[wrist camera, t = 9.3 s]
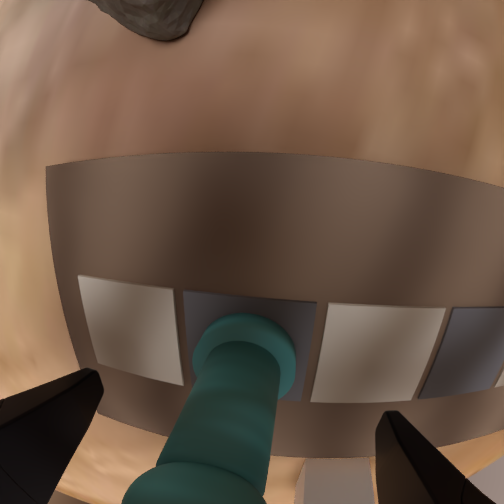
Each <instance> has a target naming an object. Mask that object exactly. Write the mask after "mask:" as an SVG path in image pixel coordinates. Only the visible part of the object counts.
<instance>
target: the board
mask: <svg viewBox="0 0 504 504" xmlns="http://www.w3.org/2000/svg"><path fill="white" fill-rule="evenodd" d="M46 196H47V211H48V223H49V233H50V241H51V249H52V255H53V262H54V268H55V274H56V279H57V284H58V289H59V294H60V299H61V303H62V307H63V311H64V316H65V319H66V323H67V327H68V331H69V334H70V338H71V341H72V344H73V348H74V351H75V354H76V357H77V360H78V363H79V366H80V369H84V368H87V367H88V368H92V369H94V370H97V371H98V372H99V375H100V378H101V381H102V384H103V387H104V394H103V396H102V399H101V401H100V403H99V405H98V408H97V412H98V414H101V415H103V416H106V417H109V418H111V419H114V420H117V421H119V422H122V423H125V424H128V425H131V426H134V427H137V428H140V429H143V430H146V431H150V432H153V433H156V434H160V435H163V436H167V437H169V436H170V434H171V431H172V429H173V427H174V425H175V423H176V421H177V419H178V417H179V415H180V413H181V411H182V409H183V407H184V405H185V402H186V400H187V398H188V396H189V394H190V392H191V390H192V388H193V386H194V384H195V382H196V380H197V377H196V375H195V372H194V369H193V364H192V358H193V353H194V350H195V348H196V346H197V344H198V342H199V341H200V339H201V337H202V335H203V333H204V332H205V330H206V329H207V327H208V326H209V325H210V324H211V323H212V322H214V321H215V320H217V319H218V318H221V317H223V316H226V315H229V314H234V313H251V314H257V315H260V316H263V317H266V318H268V319H270V320H272V321H274V322H276V323H277V324H279V325H280V326H281V327H282V328H283V329H284V330H285V331H286V332H287V333H288V334H289V336H290V337H291V339H292V341H293V343H294V346H295V349H296V371H295V379H294V382H293V385H292V387H291V388H290V390H289V391H288V392H287V393H286V394H285V395H284V396H283V397H281V398H280V399H278V401H277V409H276V417H275V425H274V432H273V440H272V447H271V454H270V455H273V456H285V457H302V458H353V457H370V456H375V430H376V427H377V425H378V423H379V421H380V419H381V417H382V414H383V413H384V412H385V411H388V410H398V411H399V412H400V413H401V414H402V415H403V416H404V417H405V418H406V419H407V420H408V421H409V422H410V423H411V424H412V425H413V426H414V427H415V428H416V429H417V430H418V431H419V432H420V433H421V434H422V435H423V436H424V437H425V438H426V439H427V440H428V441H429V442H430V443H431V444H432V445H433V446H434V447H435V448H437V447H442V446H446V445H451V444H455V443H459V442H463V441H467V440H471V439H474V438H478V437H481V436H485V435H488V434H491V433H494V432H497V431H500V430H503V429H504V188H503V187H499V186H495V185H492V184H488V183H484V182H480V181H476V180H472V179H468V178H463V177H459V176H454V175H450V174H445V173H440V172H435V171H430V170H424V169H419V168H413V167H407V166H401V165H394V164H388V163H381V162H373V161H365V160H357V159H348V158H339V157H328V156H316V155H302V154H286V153H262V152H187V153H164V154H147V155H134V156H122V157H112V158H103V159H94V160H86V161H79V162H71V163H65V164H58V165H52V166H46Z"/></svg>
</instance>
